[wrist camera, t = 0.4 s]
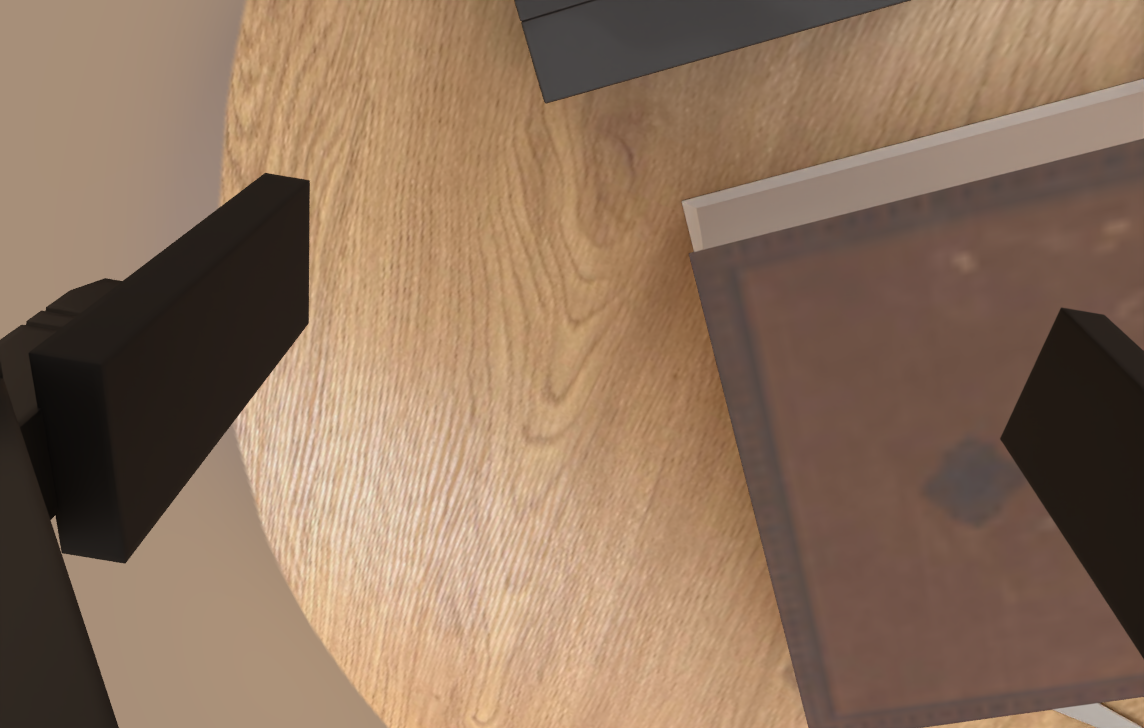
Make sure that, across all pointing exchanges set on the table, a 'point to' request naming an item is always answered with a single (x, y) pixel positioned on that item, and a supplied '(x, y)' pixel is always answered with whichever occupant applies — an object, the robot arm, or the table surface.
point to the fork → (1098, 716)
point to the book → (924, 405)
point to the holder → (657, 34)
